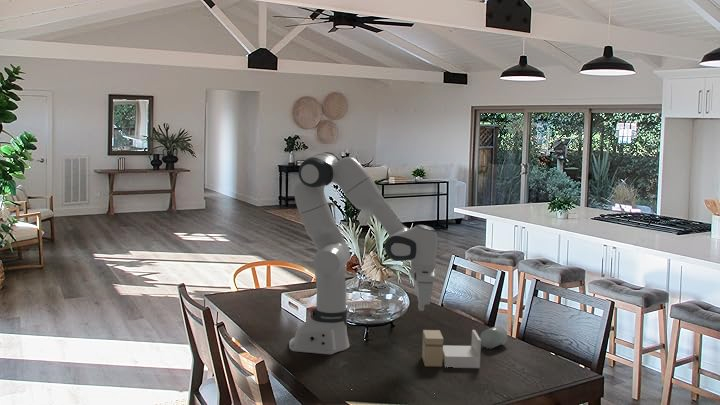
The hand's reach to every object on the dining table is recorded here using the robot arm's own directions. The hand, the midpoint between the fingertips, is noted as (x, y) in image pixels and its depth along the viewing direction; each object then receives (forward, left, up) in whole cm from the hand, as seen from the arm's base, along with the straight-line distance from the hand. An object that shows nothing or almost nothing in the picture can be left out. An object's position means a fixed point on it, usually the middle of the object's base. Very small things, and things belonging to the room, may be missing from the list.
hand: (420, 309), depth 231 cm
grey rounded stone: (+27, +12, -15) cm, 33 cm away
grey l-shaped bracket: (+14, -2, -18) cm, 23 cm away
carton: (+7, -2, -13) cm, 15 cm away
